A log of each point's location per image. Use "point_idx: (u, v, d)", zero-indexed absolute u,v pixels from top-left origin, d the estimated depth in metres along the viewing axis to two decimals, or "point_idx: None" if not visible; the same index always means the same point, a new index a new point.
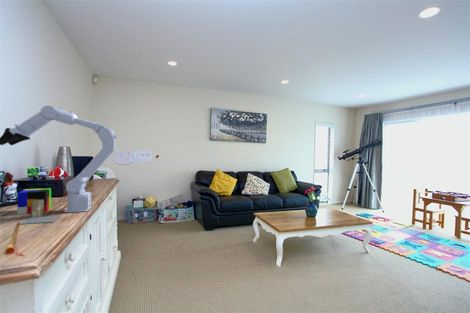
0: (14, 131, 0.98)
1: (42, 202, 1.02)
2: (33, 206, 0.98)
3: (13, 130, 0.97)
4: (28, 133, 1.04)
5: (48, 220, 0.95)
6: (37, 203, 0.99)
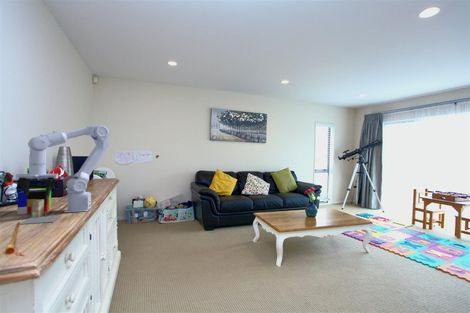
0: (57, 175, 1.03)
1: (42, 202, 1.02)
2: (33, 206, 0.98)
3: (57, 175, 1.03)
4: None
5: (48, 220, 0.95)
6: (37, 203, 0.99)
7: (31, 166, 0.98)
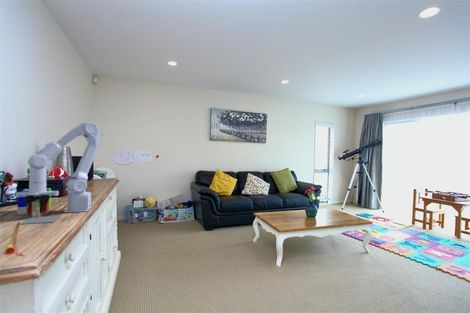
0: (58, 192, 1.04)
1: None
2: (33, 206, 0.98)
3: (57, 192, 1.03)
4: None
5: (48, 220, 0.95)
6: (37, 203, 0.99)
7: (31, 184, 0.98)
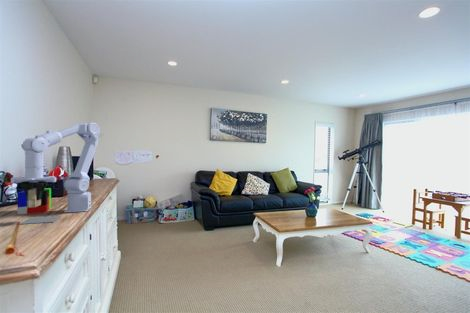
0: None
1: None
2: (29, 194, 0.92)
3: (55, 178, 0.97)
4: None
5: (48, 220, 0.95)
6: (34, 191, 0.93)
7: (27, 169, 0.92)
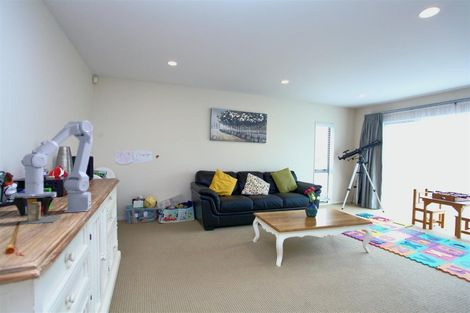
0: (55, 193, 0.98)
1: (39, 205, 0.96)
2: (29, 209, 0.92)
3: (55, 194, 0.97)
4: None
5: (48, 220, 0.95)
6: (33, 206, 0.93)
7: (27, 185, 0.92)
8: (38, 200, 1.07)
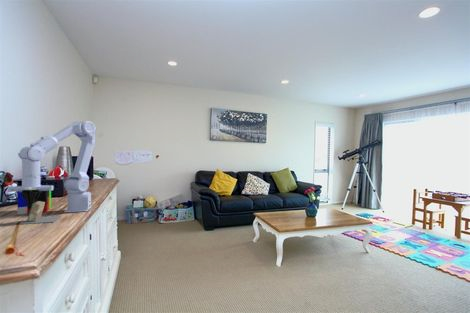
0: (53, 187, 0.97)
1: (43, 205, 0.97)
2: (33, 208, 0.93)
3: (52, 187, 0.97)
4: None
5: (48, 220, 0.95)
6: (38, 206, 0.93)
7: (24, 178, 0.91)
8: (38, 200, 1.07)
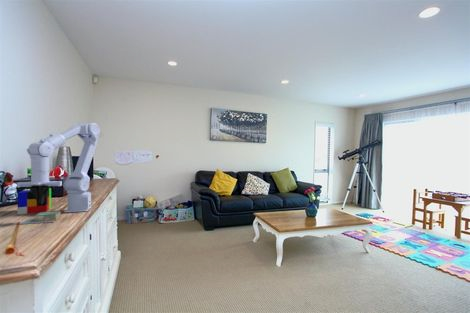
0: (61, 182, 0.98)
1: None
2: (50, 216, 0.95)
3: (61, 182, 0.98)
4: None
5: None
6: (53, 219, 0.95)
7: (33, 174, 0.92)
8: None
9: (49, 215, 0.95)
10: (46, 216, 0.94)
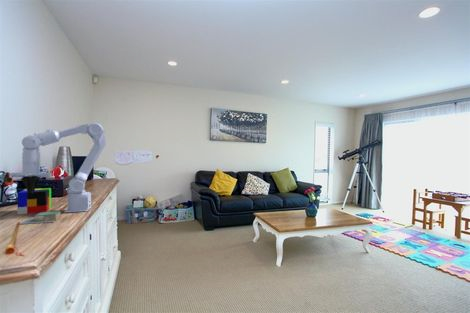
0: (51, 174, 1.05)
1: None
2: (50, 216, 0.95)
3: (50, 174, 1.04)
4: None
5: None
6: (53, 219, 0.95)
7: (24, 165, 0.99)
8: (38, 200, 1.07)
9: (49, 215, 0.95)
10: (46, 216, 0.94)
